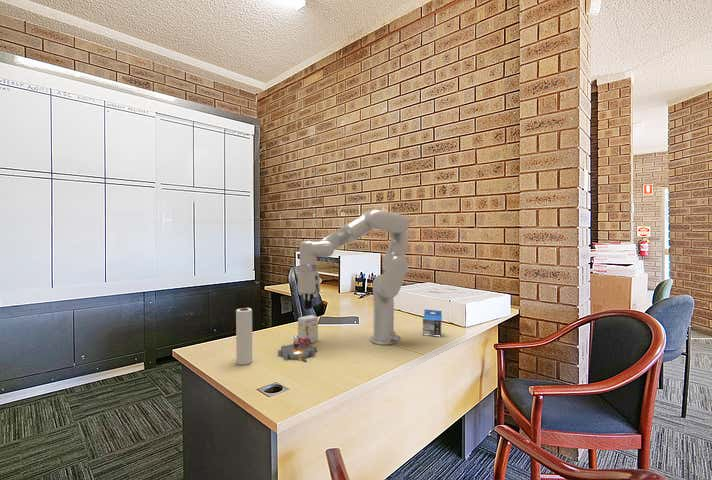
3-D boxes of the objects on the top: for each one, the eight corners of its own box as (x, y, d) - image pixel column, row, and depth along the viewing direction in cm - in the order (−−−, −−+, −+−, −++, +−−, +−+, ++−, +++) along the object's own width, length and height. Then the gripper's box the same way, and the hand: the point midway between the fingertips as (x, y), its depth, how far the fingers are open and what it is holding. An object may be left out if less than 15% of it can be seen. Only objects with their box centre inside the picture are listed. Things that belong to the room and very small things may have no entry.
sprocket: (312, 345, 163) (312, 332, 163) (320, 358, 147) (320, 343, 147) (276, 349, 158) (276, 335, 158) (280, 362, 142) (279, 347, 142)
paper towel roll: (243, 366, 138) (243, 311, 137) (233, 363, 141) (232, 309, 141) (257, 360, 144) (257, 308, 144) (247, 357, 147) (247, 306, 147)
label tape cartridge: (422, 335, 179) (422, 310, 178) (423, 333, 182) (424, 309, 182) (440, 337, 175) (440, 312, 175) (441, 335, 179) (441, 310, 179)
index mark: (302, 360, 145) (302, 359, 145) (305, 359, 145) (305, 359, 145) (304, 362, 143) (304, 361, 143) (307, 361, 143) (307, 361, 143)
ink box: (304, 345, 163) (303, 319, 163) (297, 343, 167) (297, 317, 166) (318, 341, 169) (318, 316, 169) (311, 338, 173) (311, 314, 172)
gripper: (326, 268, 161) (326, 309, 161) (301, 266, 169) (301, 305, 169) (315, 270, 154) (315, 312, 155) (290, 268, 162) (290, 308, 163)
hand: (308, 308), depth 162 cm, fingers closed
